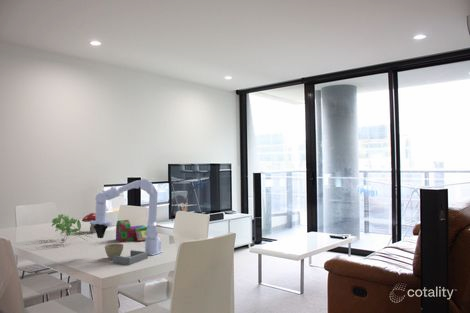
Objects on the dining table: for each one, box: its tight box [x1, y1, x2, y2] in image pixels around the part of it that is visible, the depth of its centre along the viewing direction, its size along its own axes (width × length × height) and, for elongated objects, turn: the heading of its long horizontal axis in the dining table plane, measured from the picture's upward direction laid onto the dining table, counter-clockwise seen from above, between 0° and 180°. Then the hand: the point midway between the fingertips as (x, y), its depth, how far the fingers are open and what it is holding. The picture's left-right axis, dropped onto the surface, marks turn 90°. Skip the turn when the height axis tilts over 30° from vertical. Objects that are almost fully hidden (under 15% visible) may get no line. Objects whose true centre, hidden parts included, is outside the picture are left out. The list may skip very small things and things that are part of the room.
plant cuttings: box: [51, 213, 93, 243], centre depth 251 cm, size 35×17×22 cm
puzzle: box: [115, 219, 148, 243], centre depth 259 cm, size 25×17×14 cm
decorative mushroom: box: [81, 212, 96, 233], centre depth 286 cm, size 16×16×15 cm
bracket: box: [112, 249, 148, 266], centre depth 202 cm, size 15×11×4 cm
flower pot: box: [104, 243, 124, 260], centre depth 206 cm, size 10×10×7 cm
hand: (100, 237), depth 210 cm, fingers closed
